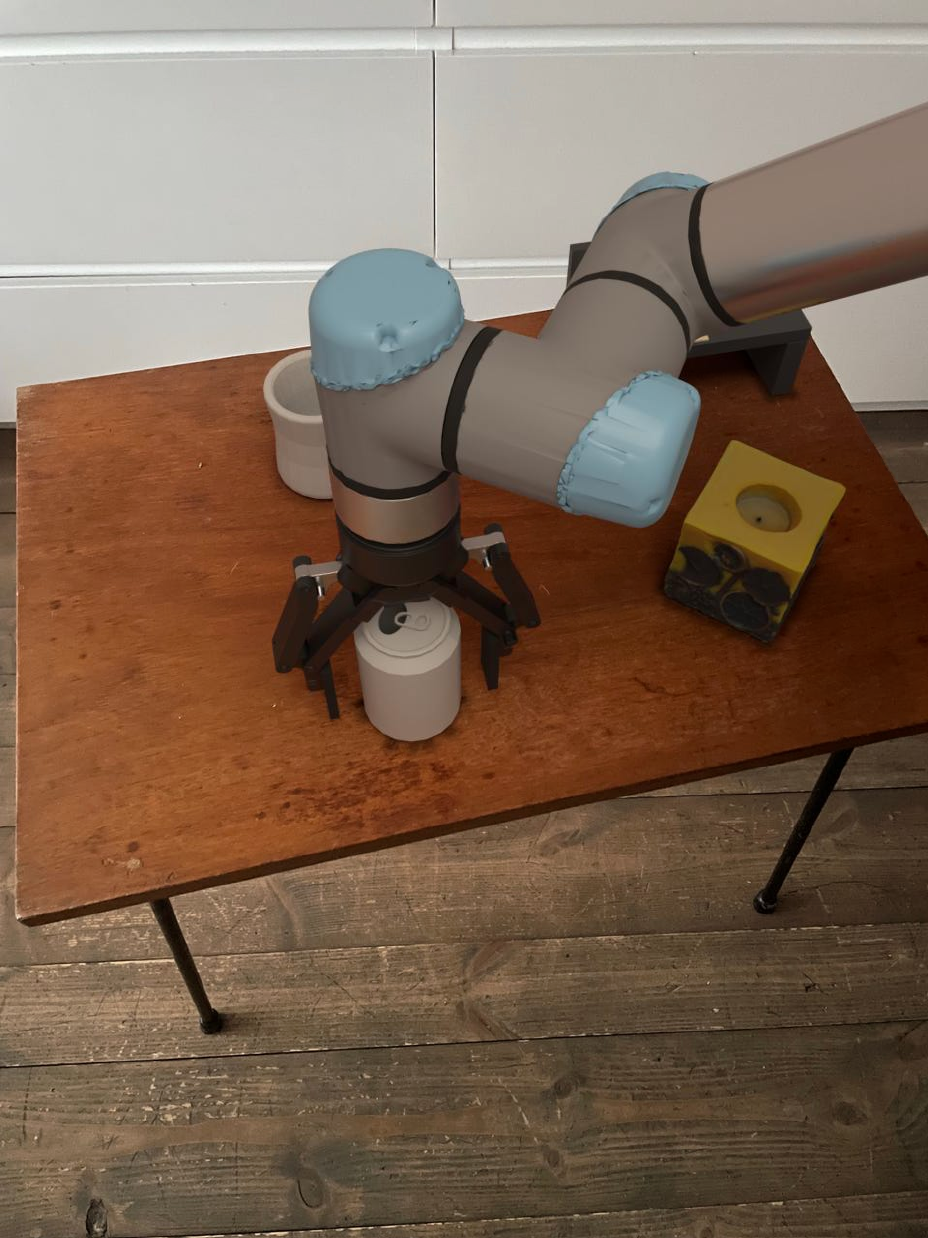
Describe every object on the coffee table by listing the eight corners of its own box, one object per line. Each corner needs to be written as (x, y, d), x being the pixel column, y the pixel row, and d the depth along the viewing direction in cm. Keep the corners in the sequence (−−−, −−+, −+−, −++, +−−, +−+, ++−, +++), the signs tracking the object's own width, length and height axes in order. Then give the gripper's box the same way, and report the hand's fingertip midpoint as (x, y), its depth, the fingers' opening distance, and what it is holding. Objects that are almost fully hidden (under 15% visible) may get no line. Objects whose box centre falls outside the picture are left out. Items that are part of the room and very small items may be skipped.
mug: (365, 510, 94) (356, 429, 85) (266, 496, 95) (247, 414, 86) (395, 412, 101) (389, 328, 92) (302, 400, 101) (288, 316, 93)
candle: (706, 515, 93) (730, 434, 85) (816, 562, 90) (851, 483, 82) (657, 595, 88) (677, 518, 80) (771, 648, 85) (804, 573, 77)
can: (384, 653, 85) (373, 561, 75) (473, 677, 84) (474, 587, 74) (350, 731, 81) (334, 645, 71) (443, 758, 80) (440, 674, 70)
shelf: (749, 319, 108) (777, 215, 98) (790, 393, 102) (825, 290, 92) (559, 347, 106) (570, 243, 96) (590, 424, 100) (604, 322, 90)
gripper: (574, 425, 66) (550, 622, 84) (190, 484, 63) (250, 676, 81) (608, 515, 62) (575, 702, 80) (199, 583, 59) (260, 762, 77)
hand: (411, 689), depth 81 cm, fingers open, 11 cm apart
